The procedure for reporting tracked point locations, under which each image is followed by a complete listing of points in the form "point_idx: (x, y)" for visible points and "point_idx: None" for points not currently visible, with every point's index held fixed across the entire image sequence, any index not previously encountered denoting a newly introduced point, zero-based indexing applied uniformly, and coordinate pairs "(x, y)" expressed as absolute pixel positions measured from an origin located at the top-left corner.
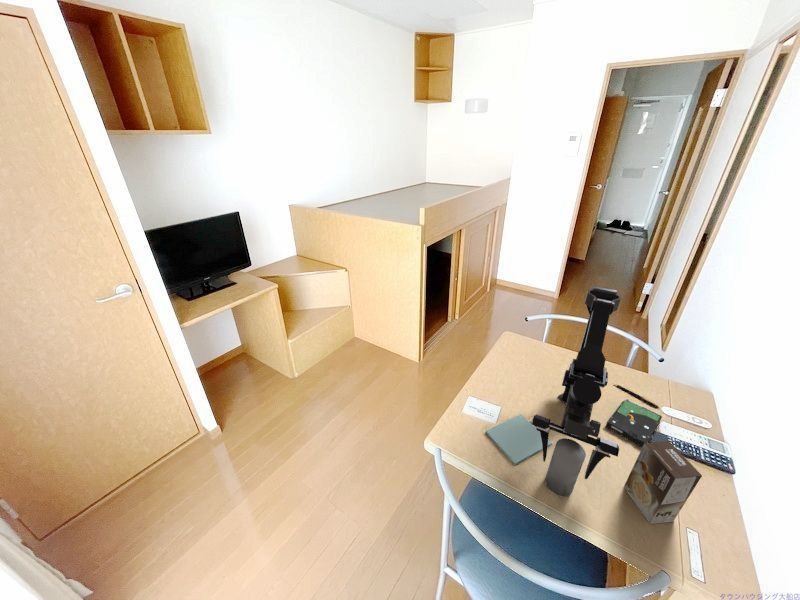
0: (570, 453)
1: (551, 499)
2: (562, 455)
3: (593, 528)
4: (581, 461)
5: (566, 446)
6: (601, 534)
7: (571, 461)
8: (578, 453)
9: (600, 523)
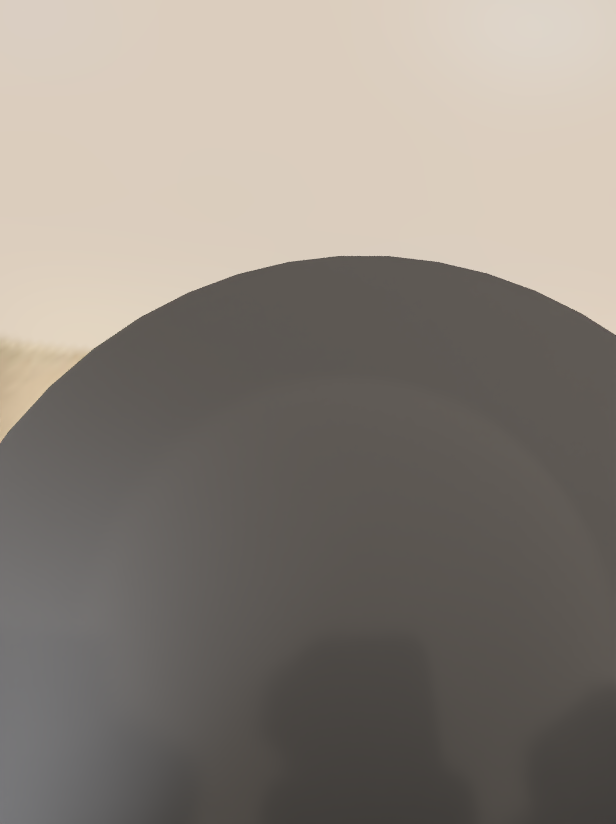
0: (368, 518)
1: None
2: (550, 320)
3: (68, 356)
4: (50, 404)
5: (540, 759)
6: (23, 343)
7: (304, 271)
8: (132, 657)
9: (22, 411)
